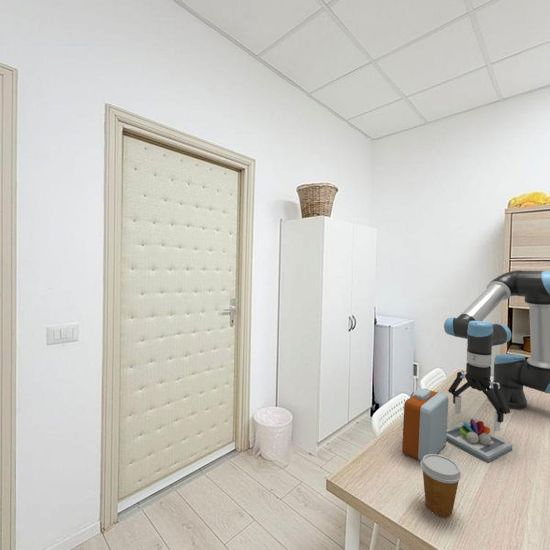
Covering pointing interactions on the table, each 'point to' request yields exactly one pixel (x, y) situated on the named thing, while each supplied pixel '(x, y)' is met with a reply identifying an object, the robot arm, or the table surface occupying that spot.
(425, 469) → the disposable coffee cup
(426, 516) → the table surface
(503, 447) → the square gray tray
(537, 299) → the robot arm
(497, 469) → the table surface
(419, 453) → the rectangular block
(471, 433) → the rainbow disc rolling toy
